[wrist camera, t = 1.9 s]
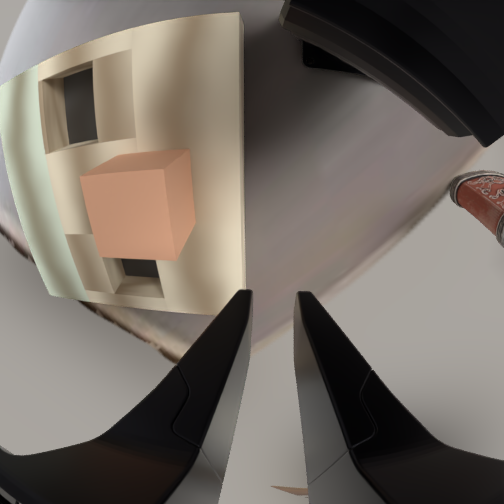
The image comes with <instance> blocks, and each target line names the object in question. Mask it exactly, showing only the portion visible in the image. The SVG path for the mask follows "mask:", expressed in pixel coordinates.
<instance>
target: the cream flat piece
mask: <svg viewBox="0 0 504 504" xmlns="http://www.w3.org/2000/svg"><path fill="white" fill-rule="evenodd" d="M0 132H1V139H2V146H3V152H4V158H5V163H6V168H7V173H8V178H9V182H10V186H11V190H12V194H13V198H14V202H15V205H16V209H17V212H18V215H19V219H20V222H21V225H22V228H23V231H24V234H25V237H26V239H27V242H28V245H29V248H30V250H31V253H32V255H33V258H34V260H35V263H36V265H37V268H38V270H39V272H40V275H41V277H42V279H43V281H44V284H45V286H46V288H47V290H48V292H49V294H50V295H52V296H57V297H63V298H69V299H75V300H81V301H88V302H94V303H101V304H108V305H116V306H123V307H131V308H140V309H149V310H158V311H168V312H179V313H191V314H204V315H218V314H219V312H220V311H221V310H222V309H223V308H224V306H225V305H226V304H227V303H228V302H229V300H230V299H231V298H232V297H233V296H234V294H235V293H236V292H237V291H238V290H239V289H246V271H245V190H244V23H243V20H242V18H241V15H240V13H239V12H230V13H216V14H206V15H197V16H190V17H183V18H177V19H171V20H166V21H160V22H156V23H151V24H147V25H142V26H138V27H134V28H131V29H127V30H123V31H120V32H117V33H113V34H110V35H107V36H104V37H101V38H98V39H95V40H92V41H90V42H87V43H84V44H82V45H79V46H77V47H74V48H72V49H70V50H67V51H65V52H63V53H60V54H58V55H56V56H54V57H52V58H50V59H47V60H45V61H43V62H41V63H39V64H38V65H36V66H34V67H32V68H30V69H28V70H26V71H25V72H23V73H21V74H19V75H18V76H16V77H14V78H13V79H11V80H9V81H8V82H6V83H4V84H3V85H1V86H0ZM177 149H190V160H191V174H192V187H193V198H194V209H195V219H196V223H195V225H194V227H193V229H192V231H191V233H190V235H189V237H188V239H187V241H186V243H185V245H184V247H183V249H182V251H181V253H180V255H179V257H178V259H177V261H168V260H147V259H126V258H107V257H100V256H99V252H98V249H97V246H96V242H95V239H94V235H93V232H92V228H91V225H90V221H89V217H88V213H87V209H86V205H85V200H84V196H83V191H82V186H81V182H80V176H82V175H83V174H85V173H87V172H88V171H90V170H92V169H93V168H95V167H97V166H99V165H101V164H102V163H104V162H106V161H108V160H110V159H111V158H113V157H115V156H117V155H121V154H130V153H139V152H150V151H162V150H177Z"/></svg>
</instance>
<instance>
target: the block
mask: <svg viewBox="0 0 504 504" xmlns="http://www.w3.org/2000/svg"><path fill="white" fill-rule="evenodd" d="M80 182H81V186H82V191H83V196H84V200H85V205H86V209H87V213H88V217H89V221H90V225H91V228H92V232H93V235H94V239H95V242H96V246H97V249H98V252H99V256H100V257H107V258H126V259H147V260H168V261H177V259H178V257H179V255H180V253H181V251H182V249H183V247H184V245H185V243H186V241H187V239H188V237H189V235H190V233H191V231H192V229H193V227H194V225H195V223H196V219H195V209H194V198H193V187H192V174H191V160H190V149H177V150H162V151H150V152H139V153H130V154H121V155H117V156H115V157H113V158H111V159H110V160H108V161H106V162H104V163H102V164H101V165H99V166H97V167H95V168H93V169H92V170H90V171H88V172H87V173H85V174H83V175H82V176H80Z"/></svg>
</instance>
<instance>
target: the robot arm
mask: <svg viewBox="0 0 504 504" xmlns="http://www.w3.org/2000/svg"><path fill="white" fill-rule="evenodd" d="M284 1H285V2H284V5H283V7H282V10H281V13H280V16H279V22H280V24H281V26H282V28H285V29H287V30H289V31H291V34H292V35H294V36H295V38H297V39H298V40H299V41H302V64H303V65H304V66H305V67H306V68H312V69H322V70H330V71H338V72H345V73H351V74H357V75H363V76H368V77H371V78H372V79H374V80H375V81H377V82H378V83H380V84H381V85H382V86H384V87H385V88H387V89H388V90H390V91H391V92H392V93H394V94H395V95H396V96H398V97H399V98H400V99H402V100H403V101H404V102H406V103H407V104H408V105H409V106H411V107H412V108H413V109H414V110H416V111H417V112H418V113H419V114H421V115H422V116H423V117H424V118H425V119H426V120H428V121H429V122H430V123H431V124H433V125H434V126H435V127H437V128H438V129H440V130H442V131H443V132H444V133H446V134H447V135H448V136H455V137H463V136H470V135H473V136H474V137H475V138H476V139H477V140H478V141H479V143H480V144H481V145H482V146H483V147H488V146H490V145H491V144H492V143H494V142H495V141H496V140H498V139H499V138H500V137H502V136H503V135H504V0H284ZM307 58H311V59H312V60H313V64H308V63H307V61H306V60H307ZM252 317H253V291H252V290H250V289H239V290H238V291H237V292H236V293H235V294H234V296H233V297H232V298H231V299H230V300H229V302H228V303H227V304H226V305H225V306H224V308H223V309H222V310H221V311H220V312H219V314H218V315H217V316H216V317H215V319H214V320H213V321H212V322H211V323H210V325H209V326H208V327H207V328H206V329H205V331H204V332H203V333H202V334H201V335H200V337H199V338H198V339H197V340H196V341H195V342H194V344H193V345H192V346H191V347H190V348H189V350H188V351H187V352H186V353H185V354H184V356H183V357H182V358H181V359H180V360H179V362H178V363H177V366H176V365H175V366H174V367H173V368H172V370H171V371H170V372H169V373H168V374H167V376H166V377H165V378H164V379H163V380H162V381H161V382H160V383H159V384H158V385H157V387H156V388H155V389H153V390H152V391H151V392H150V393H149V394H148V395H147V396H146V397H145V398H144V399H143V400H142V401H141V402H140V403H139V404H137V405H136V406H135V407H134V408H133V409H132V410H131V411H130V412H129V413H128V414H126V415H125V416H124V417H123V418H122V419H120V420H119V421H118V422H117V423H116V424H115V425H114V426H113V427H111V428H110V429H109V430H108V431H106V432H105V433H103V434H102V435H100V436H99V437H96V438H95V439H92V440H90V441H87V442H83V443H80V444H76V445H72V446H68V447H64V448H60V449H56V450H51V451H47V452H42V453H37V454H31V455H24V456H21V455H13V454H12V453H11V452H9V451H8V450H6V449H5V448H3V447H2V446H0V504H218V501H219V497H220V493H221V489H222V483H223V480H224V476H225V471H226V467H227V463H228V458H229V454H230V450H231V445H232V441H233V436H234V431H235V427H236V422H237V418H238V413H239V409H240V404H241V399H242V394H243V390H244V385H245V380H246V376H247V370H248V366H249V360H250V349H251V333H252ZM294 367H295V375H296V383H297V390H298V399H299V407H300V416H301V424H302V434H303V443H304V452H305V462H306V472H307V483H308V495H309V504H504V460H499V459H494V458H490V457H486V456H482V455H478V454H475V453H471V452H467V451H464V450H461V449H457V448H454V447H451V446H449V445H446V444H444V443H443V442H441V441H440V440H438V439H437V438H436V437H434V436H433V435H432V434H431V433H430V432H429V431H428V430H427V429H426V428H425V427H424V426H423V425H422V424H421V423H420V422H419V421H418V420H417V419H416V418H415V417H414V416H413V415H412V414H411V413H410V412H409V410H407V408H406V407H405V406H404V405H403V404H402V403H401V402H400V401H399V400H398V399H397V398H396V397H395V396H394V395H393V394H392V393H391V391H390V390H389V389H388V388H387V386H386V385H385V384H384V383H383V381H382V380H381V379H380V378H379V376H378V375H377V374H376V373H375V371H374V370H372V368H371V366H370V365H369V364H368V363H367V361H366V360H365V359H364V357H363V356H362V355H361V354H360V352H359V351H358V350H357V349H356V347H355V346H354V345H353V344H352V342H351V341H350V340H349V338H348V337H347V336H346V335H345V333H344V332H343V331H342V330H341V328H340V327H339V326H338V325H337V323H336V322H335V321H334V320H333V318H332V317H331V316H330V315H329V313H328V312H327V311H326V310H325V308H324V307H323V306H322V305H321V304H320V302H319V301H318V300H317V299H316V297H315V296H314V295H313V294H312V293H311V292H310V291H298V292H297V294H296V300H295V307H294ZM371 370H372V371H371Z"/></svg>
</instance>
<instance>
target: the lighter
mask: <svg viewBox="0 0 504 504" xmlns="http://www.w3.org/2000/svg"><path fill="white" fill-rule="evenodd" d="M450 197H451V199H452V201H453V202H454V203H455V204H456V205H458V206H459V207H462V208H465V209H466V210H467V211H468V212H470V213H471V214H472V215H473V216H474V217H475V218H476V219H478V220H479V221H480V222H481V223H482V224H483V225H484V226H485V227H486V228H488V229H489V230H490V231H491V232H492V233H493V234H494V235H495V236H496V239H497V241H498V242H499V243H500V244H501V245H502V246H503V247H504V174H502V173H498V172H495V171H486V170H480V171H472V172H468V173H465V174H462V175H458V176H457V177H455V178H454V180H453V181H452V183H451V186H450Z"/></svg>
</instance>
